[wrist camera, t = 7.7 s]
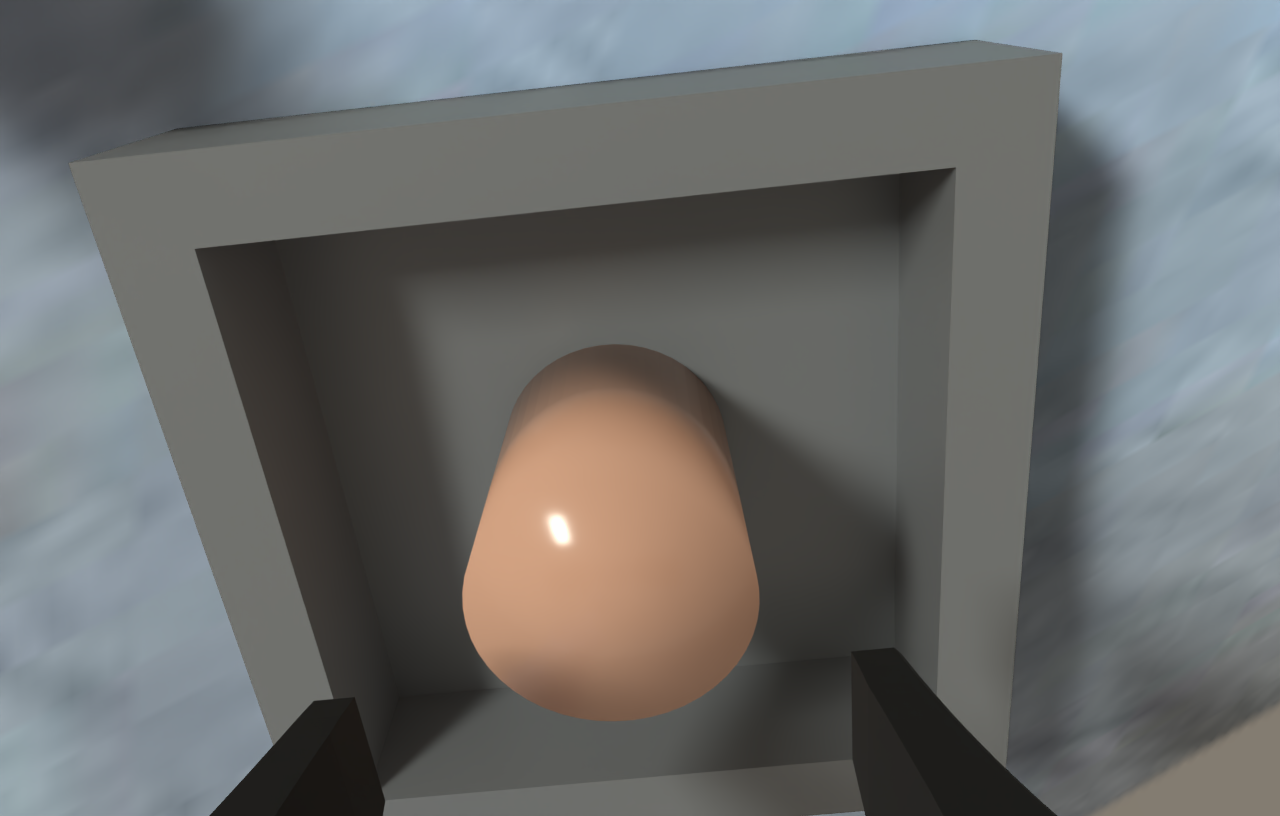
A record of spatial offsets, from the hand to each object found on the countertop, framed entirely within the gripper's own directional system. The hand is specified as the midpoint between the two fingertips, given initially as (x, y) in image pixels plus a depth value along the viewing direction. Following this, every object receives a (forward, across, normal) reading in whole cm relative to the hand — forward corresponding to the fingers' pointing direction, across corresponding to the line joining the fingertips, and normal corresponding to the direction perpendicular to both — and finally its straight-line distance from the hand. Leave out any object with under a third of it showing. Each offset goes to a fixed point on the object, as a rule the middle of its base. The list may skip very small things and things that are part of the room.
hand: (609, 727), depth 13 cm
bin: (+9, 0, 0) cm, 9 cm away
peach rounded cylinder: (+8, 0, 0) cm, 9 cm away
